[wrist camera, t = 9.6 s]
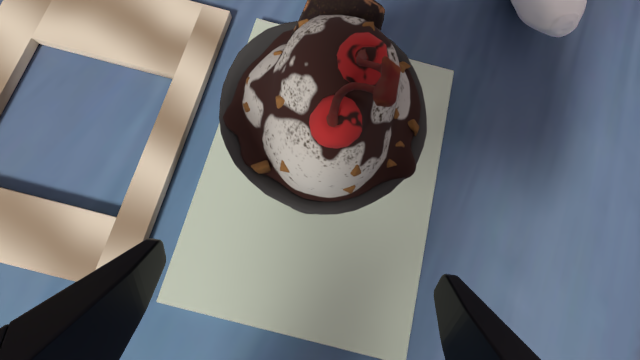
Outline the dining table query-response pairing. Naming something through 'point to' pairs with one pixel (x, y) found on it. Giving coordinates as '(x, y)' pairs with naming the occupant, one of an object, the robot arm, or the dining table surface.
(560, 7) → the white curved piece
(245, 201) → the stub pad
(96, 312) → the robot arm
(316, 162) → the sundae
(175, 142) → the wooden picture frame
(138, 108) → the dining table surface
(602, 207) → the dining table surface
